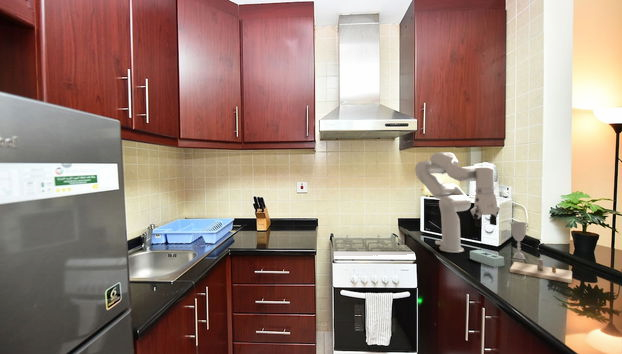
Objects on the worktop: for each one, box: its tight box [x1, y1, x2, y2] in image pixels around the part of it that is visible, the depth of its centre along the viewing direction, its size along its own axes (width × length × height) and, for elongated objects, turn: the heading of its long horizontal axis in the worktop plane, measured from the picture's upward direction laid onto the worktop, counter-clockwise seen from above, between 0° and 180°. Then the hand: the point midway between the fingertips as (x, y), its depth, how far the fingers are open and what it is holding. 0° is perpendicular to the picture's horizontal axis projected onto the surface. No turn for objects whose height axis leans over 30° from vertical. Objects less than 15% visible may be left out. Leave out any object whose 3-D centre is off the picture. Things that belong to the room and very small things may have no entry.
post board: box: [509, 258, 573, 284], centre depth 120 cm, size 20×12×6 cm, turn 46°
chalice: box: [509, 221, 528, 260], centre depth 141 cm, size 7×7×18 cm
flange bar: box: [469, 249, 505, 268], centre depth 137 cm, size 14×6×4 cm, turn 16°
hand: (485, 225), depth 137 cm, fingers open, 9 cm apart
